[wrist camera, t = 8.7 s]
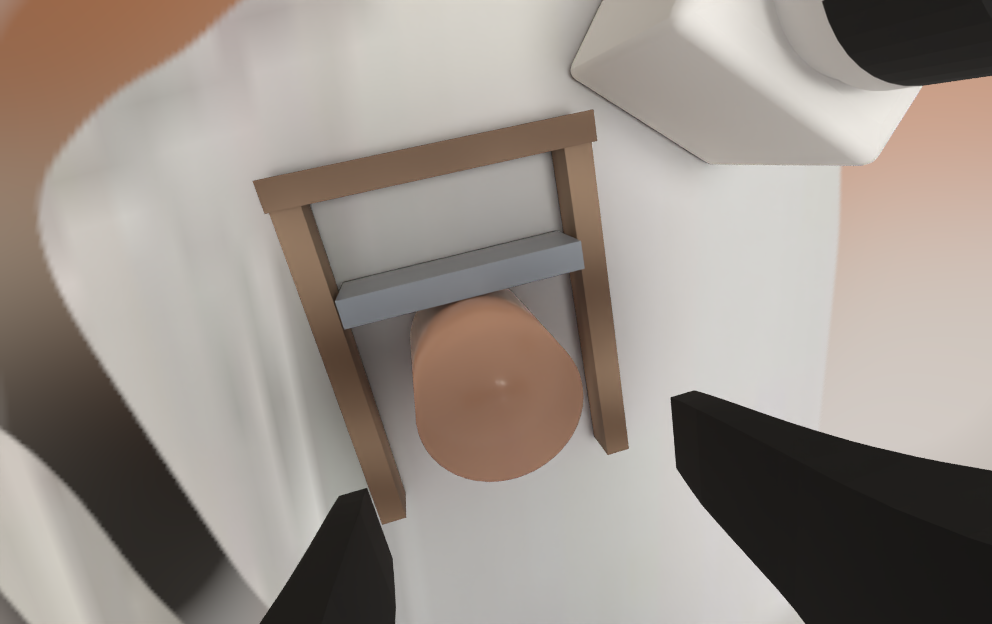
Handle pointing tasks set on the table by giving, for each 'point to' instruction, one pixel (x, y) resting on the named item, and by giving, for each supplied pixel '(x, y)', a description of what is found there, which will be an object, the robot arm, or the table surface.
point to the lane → (300, 189)
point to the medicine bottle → (780, 71)
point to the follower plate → (457, 278)
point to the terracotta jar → (491, 387)
